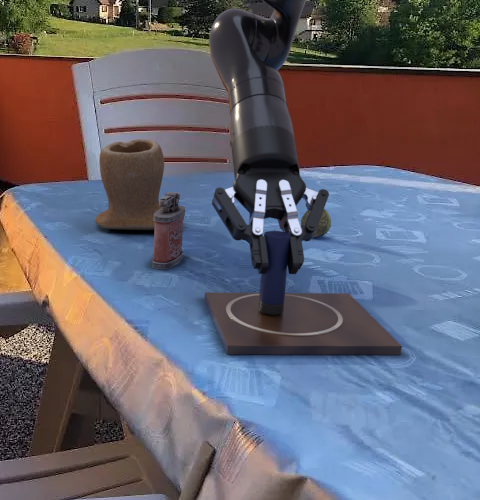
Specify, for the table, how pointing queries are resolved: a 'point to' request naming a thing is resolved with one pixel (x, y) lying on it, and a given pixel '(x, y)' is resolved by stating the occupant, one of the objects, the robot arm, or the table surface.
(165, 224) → the lighter
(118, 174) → the stone cup
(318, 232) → the lime
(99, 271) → the table surface
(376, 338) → the brown wooden board
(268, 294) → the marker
